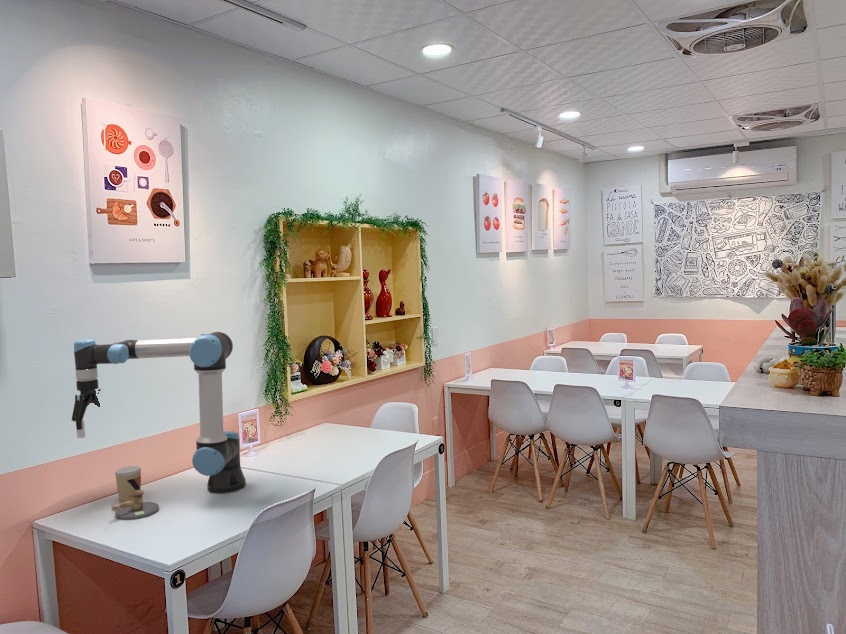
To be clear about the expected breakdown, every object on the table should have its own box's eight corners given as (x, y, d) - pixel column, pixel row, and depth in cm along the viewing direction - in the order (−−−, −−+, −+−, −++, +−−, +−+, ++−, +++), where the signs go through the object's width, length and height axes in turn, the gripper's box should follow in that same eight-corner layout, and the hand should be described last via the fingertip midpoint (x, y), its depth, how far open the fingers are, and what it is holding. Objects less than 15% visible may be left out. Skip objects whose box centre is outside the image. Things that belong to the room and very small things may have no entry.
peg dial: (139, 504, 245) (138, 488, 245) (147, 507, 242) (146, 491, 242) (109, 515, 236) (108, 498, 235) (117, 517, 233) (116, 501, 232)
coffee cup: (132, 504, 251) (131, 473, 250) (111, 502, 253) (109, 472, 252) (147, 495, 260) (145, 466, 259) (127, 494, 262) (125, 465, 261)
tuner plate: (166, 504, 249) (165, 501, 249) (147, 519, 234) (146, 516, 234) (128, 504, 250) (128, 501, 250) (106, 520, 235) (106, 516, 235)
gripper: (95, 374, 265) (98, 425, 266) (58, 385, 240) (62, 441, 242) (113, 373, 265) (116, 425, 266) (78, 385, 240) (82, 441, 241)
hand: (90, 433), depth 254 cm, fingers open, 13 cm apart
